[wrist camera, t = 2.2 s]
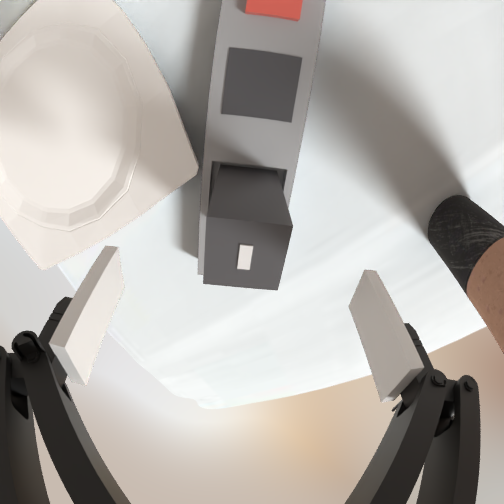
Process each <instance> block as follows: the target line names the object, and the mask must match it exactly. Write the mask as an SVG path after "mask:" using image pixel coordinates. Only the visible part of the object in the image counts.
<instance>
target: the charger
mask: <svg viewBox="0 0 504 504" xmlns="http://www.w3.org/2000/svg"><path fill="white" fill-rule="evenodd" d="M292 228H293V224H292V221H291V217H290V214H289V210H288V207H287V203H286V200H285V196H284V193H283V189H282V186H281V183H280V179H279V176H278V173H277V171H275V170H267V169H259V168H250V167H241V166H232V165H222V164H220V168H219V171H218V175H217V178H216V182H215V186H214V189H213V193H212V197H211V201H210V205H209V208H208V212H207V216H206V232H205V252H204V277H203V284H211V285H222V286H232V287H243V288H255V289H267V290H278V287H279V283H280V279H281V274H282V270H283V266H284V262H285V258H286V254H287V250H288V245H289V241H290V237H291V232H292Z"/></svg>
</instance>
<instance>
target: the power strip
mask: <svg viewBox="0 0 504 504" xmlns="http://www.w3.org/2000/svg"><path fill="white" fill-rule="evenodd" d="M325 2H326V0H222V5H221V11H220V17H219V23H218V30H217V37H216V44H215V51H214V58H213V66H212V74H211V83H210V92H209V101H208V111H207V121H206V132H205V143H204V156H203V169H202V184H201V201H200V221H199V247H198V274H200V275H204V252H205V232H206V216H207V212H208V208H209V205H210V201H211V197H212V193H213V189H214V186H215V182H216V178H217V175H218V171H219V168H220V164H222V165H232V166H241V167H250V168H259V169H267V170H275V171H277V173H278V176H279V179H280V183H281V186H282V189H283V193H284V196H285V200H286V203H287V207H289V202H290V197H291V192H292V188H293V183H294V178H295V173H296V168H297V163H298V158H299V152H300V147H301V142H302V137H303V132H304V126H305V121H306V115H307V110H308V105H309V99H310V93H311V88H312V82H313V76H314V71H315V65H316V59H317V53H318V47H319V40H320V34H321V28H322V21H323V15H324V8H325Z"/></svg>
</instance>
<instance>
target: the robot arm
mask: <svg viewBox="0 0 504 504" xmlns="http://www.w3.org/2000/svg"><path fill="white" fill-rule="evenodd" d="M124 288H125V285H124V280H123V274H122V268H121V262H120V255H119V248H118V247H113V246H105V247H104V249H103V250H102V252H101V253H100V255H99V256H98V258H97V259H96V261H95V262H94V264H93V266H92V267H91V269H90V270H89V272H88V274H87V275H86V277H85V279H84V280H83V282H82V283H81V285H80V287H79V289H78V290H77V292H76V294H75V296H74V297H73V298H69V297H64V298H63V299H62V300H61V301H60V302H58V303H57V305H56V307H55V308H54V310H53V313H52V314H51V315H50V317H49V320H48V321H47V322H46V324H45V326H44V328H43V330H42V331H41V334H40V335H39V337H37V335H36V334H35V333H34V332H32V331H23V332H21V333H19V334H18V335H17V336H16V337H15V338H14V339H13V342H12V350H13V351H14V353H7V352H6V351H5V349H4V348H3V347H2V346H0V504H50V502H49V498H48V495H47V491H46V487H45V483H44V479H43V475H42V471H41V465H40V461H39V455H38V449H37V443H36V436H35V428H34V419H33V412H34V415H35V418H36V420H37V424H38V426H39V429H40V432H41V435H42V437H43V440H44V442H45V445H46V447H47V450H48V452H49V454H50V457H51V459H52V461H53V463H54V466H55V468H56V470H57V472H58V474H59V476H60V478H61V480H62V482H63V484H64V486H65V488H66V490H67V492H68V493H69V495H70V497H71V499H72V501H73V503H74V504H131V503H130V502H129V500H128V499H127V497H126V496H125V494H124V493H123V492H122V490H121V489H120V487H119V486H118V484H117V483H116V481H115V480H114V478H113V476H112V475H111V473H110V471H109V470H108V468H107V466H106V465H105V463H104V461H103V460H102V458H101V456H100V455H99V453H98V451H97V449H96V447H95V445H94V443H93V442H92V440H91V438H90V436H89V434H88V432H87V430H86V428H85V426H84V424H83V421H82V420H81V417H80V415H79V413H78V411H77V408H76V406H75V404H74V402H73V399H72V397H71V395H70V392H69V389H68V387H67V385H66V383H65V380H66V377H67V375H68V377H69V378H70V380H71V382H74V383H78V384H81V385H85V386H86V385H87V382H88V379H89V376H90V373H91V370H92V367H93V365H94V362H95V359H96V357H97V353H98V351H99V349H100V346H101V343H102V341H103V338H104V336H105V333H106V331H107V328H108V326H109V323H110V321H111V318H112V316H113V314H114V311H115V309H116V307H117V304H118V302H119V300H120V297H121V295H122V293H123V291H124ZM349 309H350V311H351V314H352V317H353V320H354V322H355V325H356V328H357V331H358V333H359V336H360V339H361V342H362V345H363V348H364V351H365V354H366V357H367V360H368V363H369V366H370V369H371V372H372V375H373V378H374V381H375V384H376V387H377V391H378V394H379V397H380V401H381V402H387V401H393V400H395V399H396V398H397V397H398V396H399V394H401V397H402V400H401V401H400V402H399V403H398V404H397V405H396V406H395V407H394V408H393V409H392V411H394V410H395V409H396V411H395V414H394V416H393V418H392V420H391V423H390V425H389V427H388V429H387V431H386V433H385V435H384V437H383V439H382V441H381V443H380V445H379V447H378V449H377V451H376V453H375V455H374V456H373V458H372V460H371V462H370V464H369V465H368V467H367V469H366V470H365V472H364V474H363V476H362V477H361V479H360V481H359V482H358V484H357V486H356V487H355V489H354V490H353V492H352V493H351V495H350V496H349V498H348V499H347V501H346V502H345V504H406V503H407V501H408V498H409V497H410V494H411V492H412V490H413V488H414V485H415V483H416V481H417V479H418V477H419V474H420V472H421V469H422V467H423V465H424V470H423V475H422V480H421V485H420V490H419V495H418V499H417V503H416V504H475V501H476V495H477V486H478V477H479V464H480V463H479V462H480V404H479V391H478V385H477V383H476V381H475V380H474V379H473V378H472V377H471V376H468V375H464V376H462V377H461V378H460V379H459V380H458V381H455V380H449V379H447V378H446V376H445V375H444V374H443V373H442V372H441V371H439V370H436V369H434V368H433V366H432V364H431V362H430V360H429V358H428V355H427V353H426V351H425V349H424V347H423V346H422V343H421V341H420V340H419V337H418V335H417V333H416V331H415V329H414V328H413V327H412V326H411V325H410V324H409V323H403V321H402V319H401V317H400V315H399V313H398V311H397V309H396V307H395V305H394V303H393V301H392V299H391V297H390V295H389V294H388V292H387V290H386V288H385V286H384V284H383V282H382V281H381V279H380V277H379V275H378V273H377V272H376V271H373V270H364V272H363V274H362V277H361V279H360V281H359V284H358V286H357V288H356V291H355V293H354V295H353V298H352V300H351V302H350V304H349ZM424 462H425V463H424Z"/></svg>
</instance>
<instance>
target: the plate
mask: <svg viewBox="0 0 504 504" xmlns="http://www.w3.org/2000/svg"><path fill="white" fill-rule="evenodd" d="M198 169H199V163H198V161H197V158H196V156H195V153H194V151H193V148H192V146H191V143H190V140H189V138H188V135H187V133H186V130H185V127H184V125H183V122H182V120H181V117H180V114H179V112H178V109H177V106H176V104H175V101H174V99H173V96H172V93H171V91H170V88H169V86H168V84H167V82H166V80H165V78H164V77H163V75H162V73H161V71H160V69H159V67H158V65H157V63H156V62H155V60H154V58H153V56H152V54H151V52H150V50H149V49H148V47H147V45H146V43H145V42H144V40H143V39H142V37H141V36H140V34H139V33H138V32H137V30H136V29H135V27H134V26H133V24H132V23H131V21H130V20H129V18H128V17H127V15H126V14H125V12H124V11H123V10H122V9H121V8H120V7H119V6H118V5H117V4H116V2H115V1H114V0H37V1H36V2H35V3H34V4H33V5H32V6H31V7H30V8H29V9H28V10H27V11H26V12H25V13H24V14H23V15H22V16H21V17H20V18H19V20H18V21H17V22H16V23H15V24H14V25H13V26H12V27H11V29H10V30H9V31H8V32H7V33H6V35H5V36H4V37H3V38H2V39H1V41H0V217H1V219H2V220H3V221H4V223H5V224H6V226H7V227H8V229H9V230H10V231H11V233H12V234H13V235H14V237H15V238H16V239H17V241H18V242H19V243H20V245H21V246H22V247H23V249H24V250H25V251H26V252H27V254H28V255H29V256H30V257H31V259H32V260H33V261H34V262H35V264H36V265H37V266H38V267H39V268H40V269H41V270H46V269H48V268H50V267H52V266H54V265H56V264H58V263H60V262H62V261H64V260H67V259H69V258H71V257H73V256H75V255H77V254H79V253H81V252H83V251H85V250H86V249H88V248H90V247H92V246H93V245H95V244H97V243H99V242H100V241H102V240H104V239H106V238H108V237H109V236H111V235H112V234H114V233H115V232H117V231H118V230H120V229H121V228H123V227H124V226H126V225H127V224H129V223H130V222H132V221H134V220H135V219H137V218H138V217H140V216H141V215H142V214H144V213H145V212H146V211H148V210H149V209H150V208H152V207H153V206H154V205H156V204H157V203H158V202H160V201H161V200H162V199H164V198H165V197H166V196H168V195H169V194H170V193H172V192H173V191H175V190H176V189H177V188H179V187H180V186H181V185H183V184H184V183H186V182H187V181H189V180H190V179H191V178H193V177H194V176H196V175H197V173H198Z"/></svg>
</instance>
